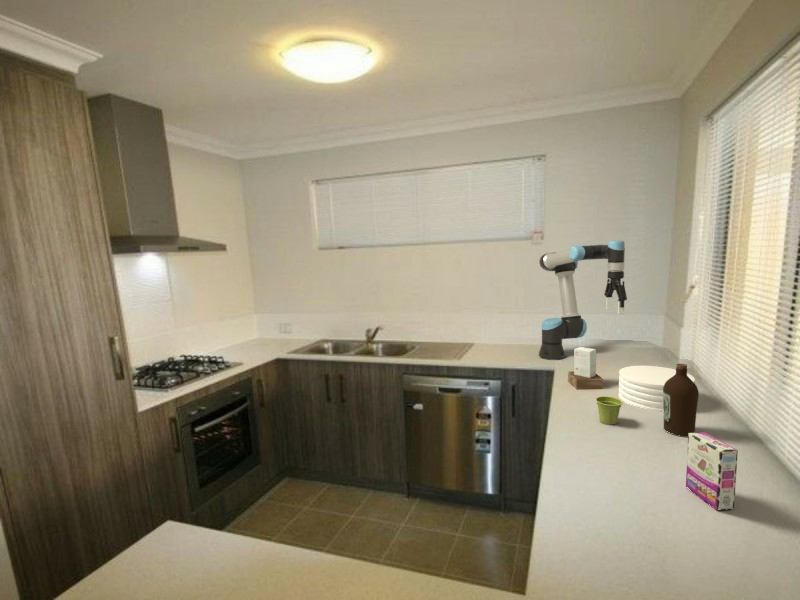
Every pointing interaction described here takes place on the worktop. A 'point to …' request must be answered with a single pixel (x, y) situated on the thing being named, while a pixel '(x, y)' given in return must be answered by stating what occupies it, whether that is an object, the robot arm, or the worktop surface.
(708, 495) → the candy bar box
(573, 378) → the block
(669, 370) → the plate stack
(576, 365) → the small box
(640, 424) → the worktop surface
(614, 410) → the plant pot
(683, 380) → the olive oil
